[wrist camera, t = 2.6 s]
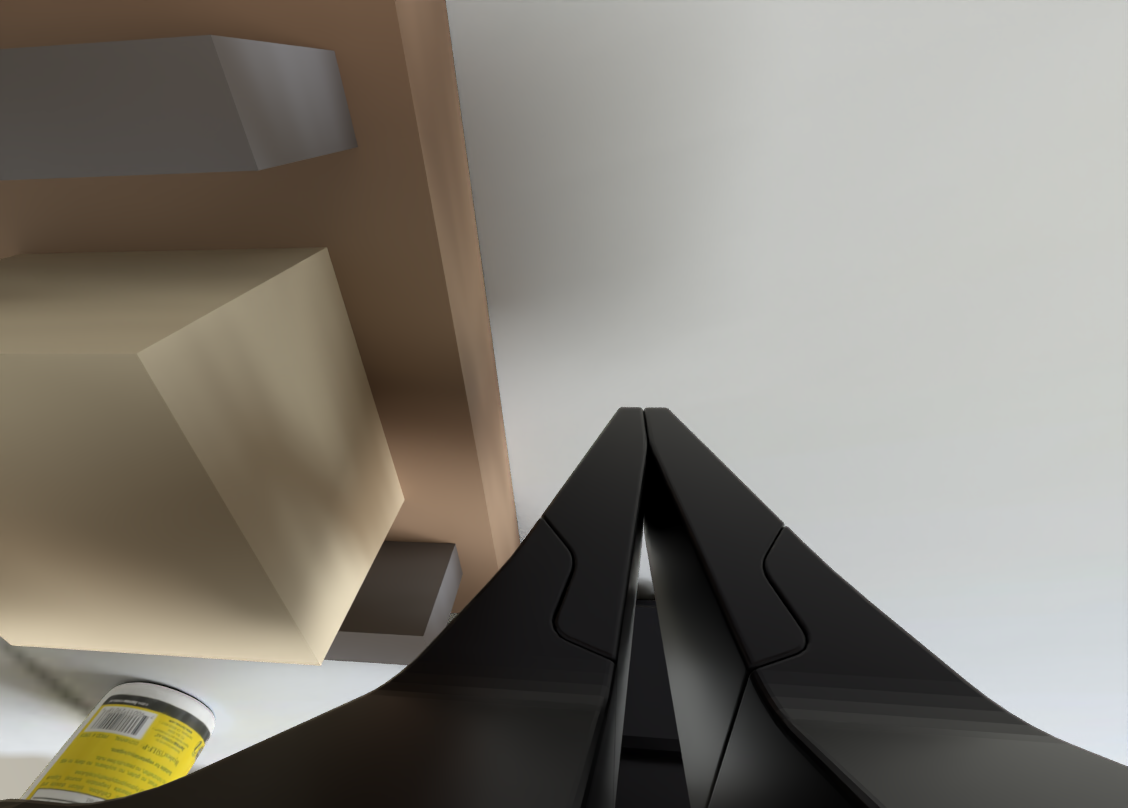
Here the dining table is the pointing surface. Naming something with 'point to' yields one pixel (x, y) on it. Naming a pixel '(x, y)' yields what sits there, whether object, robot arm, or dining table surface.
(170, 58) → the lane board
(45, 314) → the block
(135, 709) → the supplement bottle
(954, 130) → the dining table surface
